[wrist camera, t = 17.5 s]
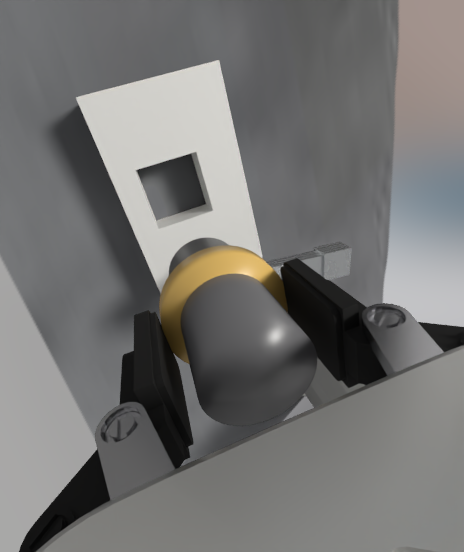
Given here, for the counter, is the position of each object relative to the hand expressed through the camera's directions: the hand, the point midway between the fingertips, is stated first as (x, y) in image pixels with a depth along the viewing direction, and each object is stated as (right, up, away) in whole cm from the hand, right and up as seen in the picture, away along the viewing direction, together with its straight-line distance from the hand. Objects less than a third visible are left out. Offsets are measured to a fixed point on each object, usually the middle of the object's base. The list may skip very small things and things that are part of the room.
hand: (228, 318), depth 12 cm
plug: (-1, +2, +4) cm, 5 cm away
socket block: (-5, +10, +16) cm, 19 cm away
